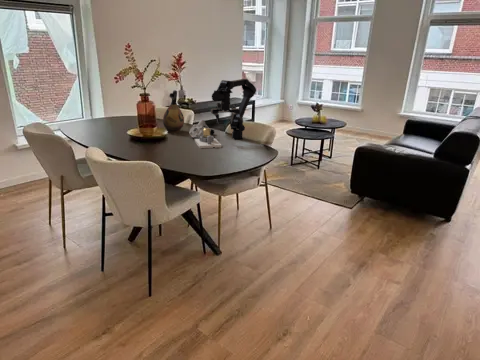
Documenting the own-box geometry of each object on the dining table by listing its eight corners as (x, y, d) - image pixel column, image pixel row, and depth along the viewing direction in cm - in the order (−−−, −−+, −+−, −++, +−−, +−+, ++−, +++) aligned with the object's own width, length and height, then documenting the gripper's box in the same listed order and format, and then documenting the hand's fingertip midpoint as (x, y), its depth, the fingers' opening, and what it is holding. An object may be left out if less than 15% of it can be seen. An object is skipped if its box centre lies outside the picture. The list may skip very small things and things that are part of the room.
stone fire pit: (215, 140, 235) (215, 131, 233) (221, 147, 219) (221, 137, 217) (194, 141, 231) (194, 131, 229) (199, 148, 215) (199, 138, 213)
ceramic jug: (182, 134, 249) (181, 92, 239) (161, 133, 249) (159, 91, 239) (186, 129, 265) (185, 89, 255) (166, 128, 265) (164, 88, 255)
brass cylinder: (209, 139, 231) (209, 127, 228) (210, 141, 227) (210, 129, 224) (202, 139, 229) (202, 128, 227) (204, 141, 225) (204, 129, 223)
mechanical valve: (186, 134, 238) (196, 116, 241) (199, 146, 253) (209, 129, 256) (196, 137, 233) (207, 119, 235) (209, 150, 247) (219, 132, 250)
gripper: (235, 98, 234) (235, 121, 239) (209, 98, 228) (209, 122, 234) (240, 100, 224) (239, 124, 229) (212, 101, 219) (212, 125, 224)
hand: (225, 124), depth 229 cm, fingers open, 9 cm apart
